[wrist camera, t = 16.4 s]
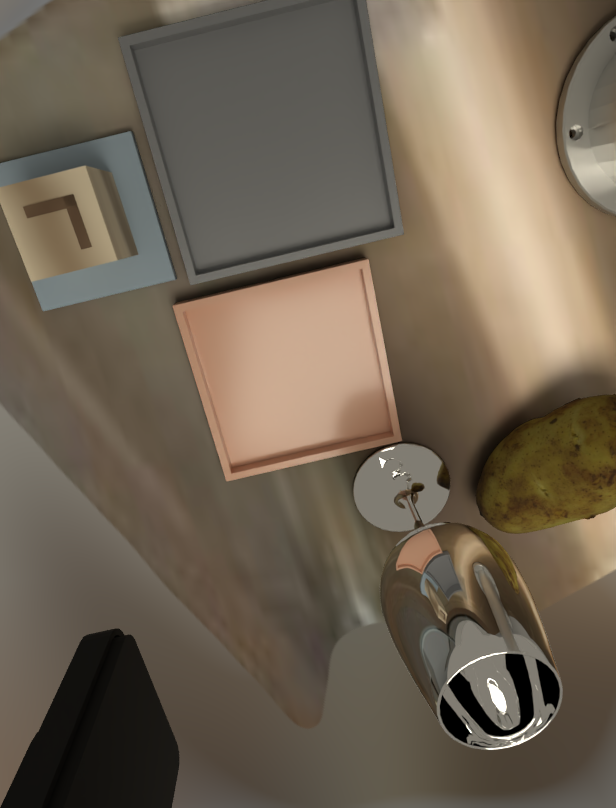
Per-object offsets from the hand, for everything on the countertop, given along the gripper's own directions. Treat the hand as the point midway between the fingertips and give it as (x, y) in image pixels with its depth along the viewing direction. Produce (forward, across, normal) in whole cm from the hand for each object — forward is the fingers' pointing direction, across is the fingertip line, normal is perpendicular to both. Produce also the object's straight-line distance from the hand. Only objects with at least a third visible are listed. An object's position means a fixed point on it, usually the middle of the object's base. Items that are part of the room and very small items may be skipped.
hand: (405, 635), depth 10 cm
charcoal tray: (+30, 0, -11) cm, 32 cm away
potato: (+31, -15, +13) cm, 36 cm away
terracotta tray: (+30, +2, +3) cm, 30 cm away
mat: (+30, +13, -9) cm, 34 cm away
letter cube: (+30, +12, -9) cm, 33 cm away
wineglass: (+30, -4, +14) cm, 34 cm away
